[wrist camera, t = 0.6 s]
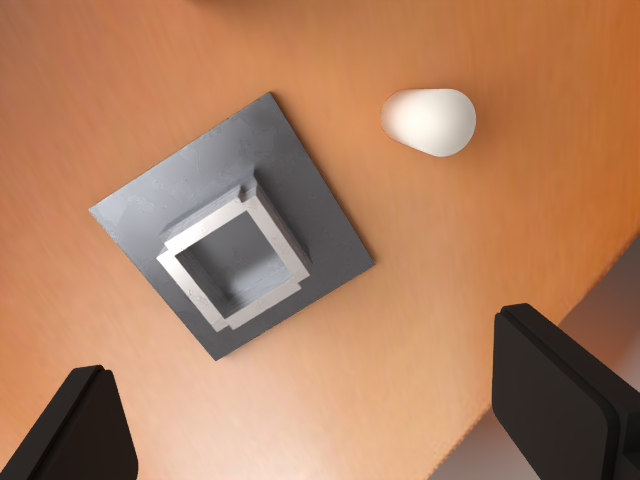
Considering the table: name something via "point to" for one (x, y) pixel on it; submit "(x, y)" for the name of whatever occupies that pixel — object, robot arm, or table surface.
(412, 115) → the white cylinder
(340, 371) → the table surface
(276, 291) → the bracket
